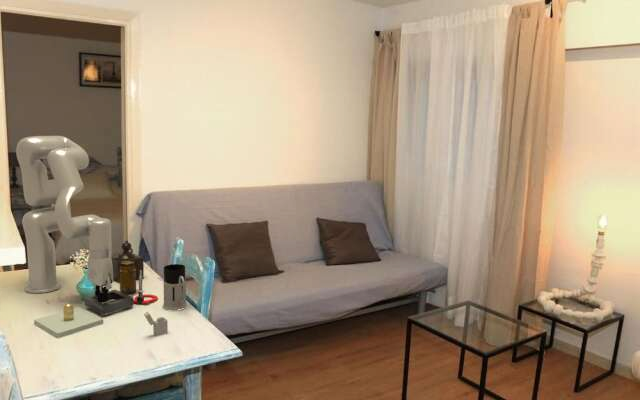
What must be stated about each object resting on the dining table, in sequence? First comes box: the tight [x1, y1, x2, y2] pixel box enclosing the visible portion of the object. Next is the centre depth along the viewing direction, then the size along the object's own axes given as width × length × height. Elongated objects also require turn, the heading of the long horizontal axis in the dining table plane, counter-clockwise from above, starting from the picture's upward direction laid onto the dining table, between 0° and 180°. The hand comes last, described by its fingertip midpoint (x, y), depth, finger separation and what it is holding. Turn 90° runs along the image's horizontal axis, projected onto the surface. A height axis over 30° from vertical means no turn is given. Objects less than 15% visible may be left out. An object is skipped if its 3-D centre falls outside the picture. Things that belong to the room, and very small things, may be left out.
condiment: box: [119, 261, 145, 297], centre depth 198 cm, size 7×8×12 cm
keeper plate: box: [33, 306, 104, 339], centre depth 168 cm, size 16×15×2 cm
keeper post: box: [62, 302, 74, 321], centre depth 168 cm, size 3×3×6 cm
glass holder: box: [162, 263, 188, 311], centre depth 183 cm, size 9×14×15 cm, turn 34°
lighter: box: [143, 311, 169, 336], centre depth 162 cm, size 7×2×8 cm, turn 128°
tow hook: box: [133, 270, 159, 306], centre depth 190 cm, size 8×13×9 cm
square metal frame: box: [83, 289, 135, 316], centre depth 182 cm, size 12×12×3 cm
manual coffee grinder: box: [111, 240, 145, 284], centre depth 212 cm, size 16×11×18 cm
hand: (101, 300), depth 185 cm, fingers closed on square metal frame
